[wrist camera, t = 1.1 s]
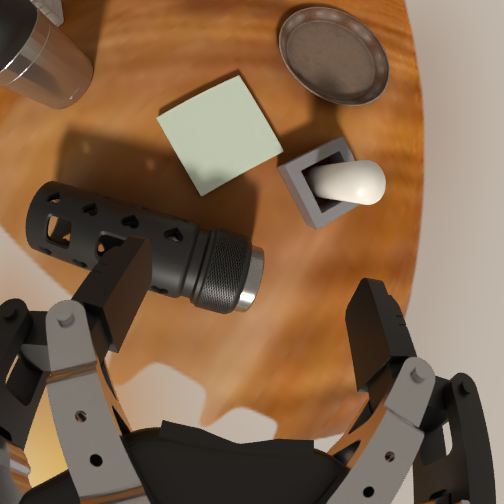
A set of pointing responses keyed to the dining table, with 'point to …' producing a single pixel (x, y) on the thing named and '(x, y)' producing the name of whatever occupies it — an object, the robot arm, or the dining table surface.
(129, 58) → the dining table surface
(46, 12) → the supplement box
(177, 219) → the muzzle brake
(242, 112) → the rubber pad
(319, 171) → the plug
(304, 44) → the plant saucer
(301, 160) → the socket collar
